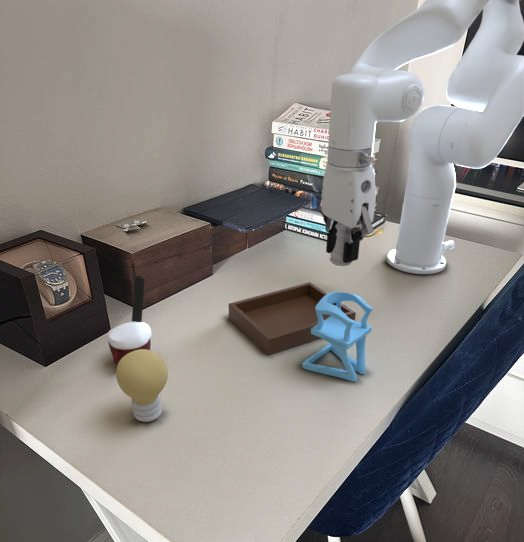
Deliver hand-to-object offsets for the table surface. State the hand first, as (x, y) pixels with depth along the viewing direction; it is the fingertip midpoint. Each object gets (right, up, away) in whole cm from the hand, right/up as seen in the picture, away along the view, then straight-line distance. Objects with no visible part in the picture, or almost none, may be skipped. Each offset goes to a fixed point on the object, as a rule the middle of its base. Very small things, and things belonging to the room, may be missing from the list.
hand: (341, 255), depth 97 cm
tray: (-10, -13, -7) cm, 18 cm away
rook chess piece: (0, -1, +1) cm, 2 cm away
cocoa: (-35, -20, -17) cm, 44 cm away
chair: (-4, -21, -18) cm, 28 cm away
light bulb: (-31, -27, -28) cm, 50 cm away
